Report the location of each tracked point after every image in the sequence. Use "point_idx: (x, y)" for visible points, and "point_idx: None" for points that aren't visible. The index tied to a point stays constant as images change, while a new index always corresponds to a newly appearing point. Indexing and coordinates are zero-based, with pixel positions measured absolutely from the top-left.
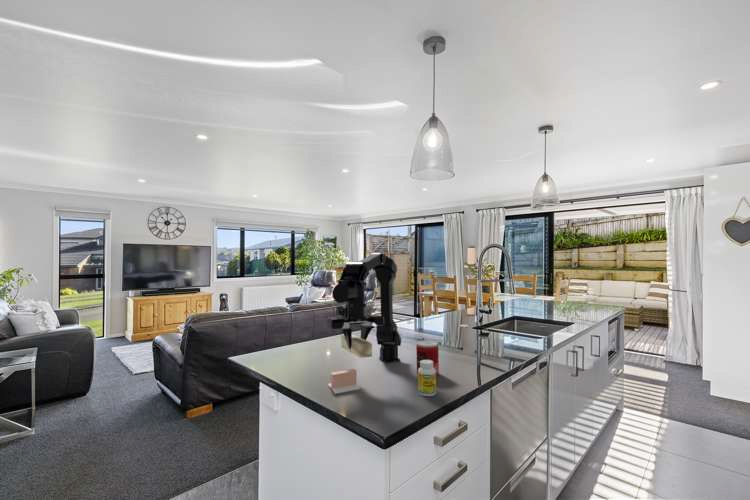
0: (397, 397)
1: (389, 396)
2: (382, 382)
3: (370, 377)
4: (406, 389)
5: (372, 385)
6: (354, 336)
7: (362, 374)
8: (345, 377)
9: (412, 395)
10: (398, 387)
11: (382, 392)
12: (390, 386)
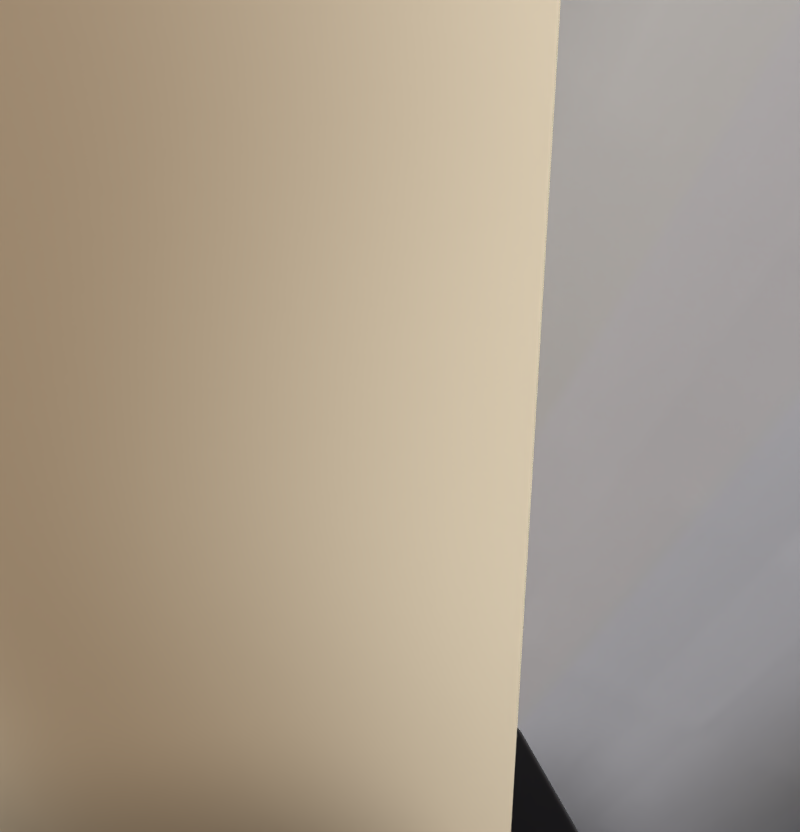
0: (599, 794)
1: (552, 755)
2: (707, 480)
3: (685, 258)
4: (787, 723)
5: (555, 499)
6: (393, 632)
7: (657, 75)
8: None
9: (733, 821)
10: (757, 659)
11: (547, 674)
12: (706, 606)
